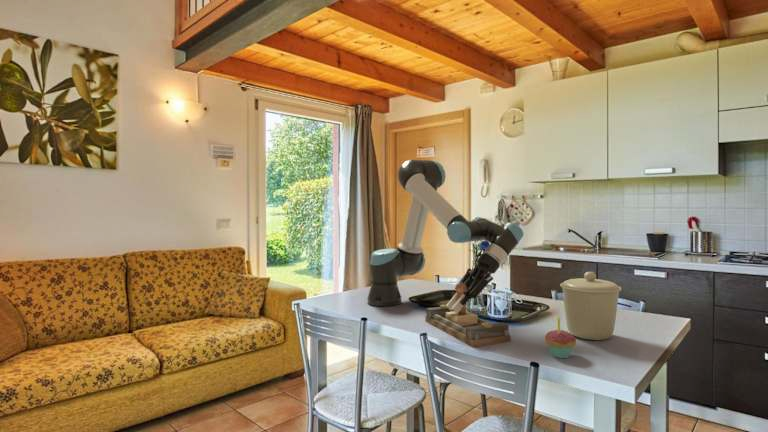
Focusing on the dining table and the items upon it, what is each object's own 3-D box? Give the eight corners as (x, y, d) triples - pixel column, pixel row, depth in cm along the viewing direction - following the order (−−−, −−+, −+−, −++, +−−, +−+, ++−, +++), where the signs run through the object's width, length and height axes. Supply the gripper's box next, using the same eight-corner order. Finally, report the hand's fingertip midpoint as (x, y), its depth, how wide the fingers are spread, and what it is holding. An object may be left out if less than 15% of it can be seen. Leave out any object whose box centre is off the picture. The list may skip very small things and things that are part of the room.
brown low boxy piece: (425, 321, 164) (425, 306, 163) (457, 316, 169) (457, 302, 169) (472, 347, 134) (472, 329, 134) (510, 341, 139) (510, 323, 139)
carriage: (445, 320, 155) (445, 281, 155) (465, 318, 158) (464, 279, 158) (457, 326, 148) (457, 285, 147) (477, 323, 151) (477, 283, 150)
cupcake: (573, 362, 120) (573, 319, 120) (541, 357, 125) (541, 315, 124) (578, 353, 127) (578, 312, 127) (547, 348, 132) (547, 308, 131)
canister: (551, 336, 143) (551, 272, 142) (571, 324, 156) (571, 266, 155) (611, 348, 131) (611, 278, 130) (628, 334, 144) (628, 271, 143)
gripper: (512, 269, 150) (471, 322, 145) (484, 263, 166) (446, 311, 160) (499, 254, 148) (457, 308, 143) (472, 249, 163) (433, 298, 158)
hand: (451, 309), depth 152 cm, fingers closed on carriage, 3 cm apart
